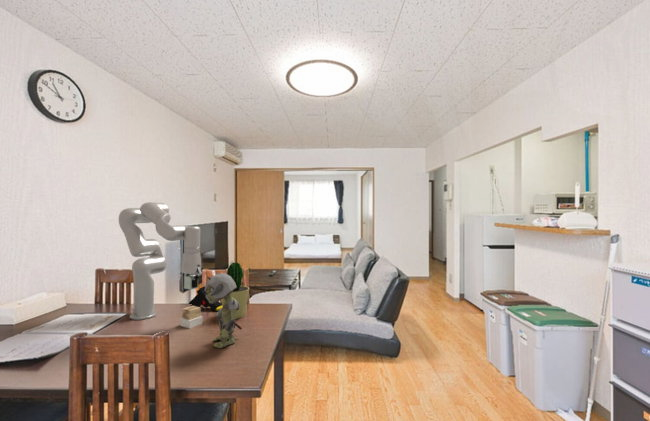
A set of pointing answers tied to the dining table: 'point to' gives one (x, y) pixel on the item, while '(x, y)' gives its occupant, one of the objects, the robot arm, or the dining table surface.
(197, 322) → the tower base
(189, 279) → the sage block
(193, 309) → the tower top
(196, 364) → the dining table surface
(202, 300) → the toy gun
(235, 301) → the toy
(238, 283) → the potted cactus
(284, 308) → the dining table surface
